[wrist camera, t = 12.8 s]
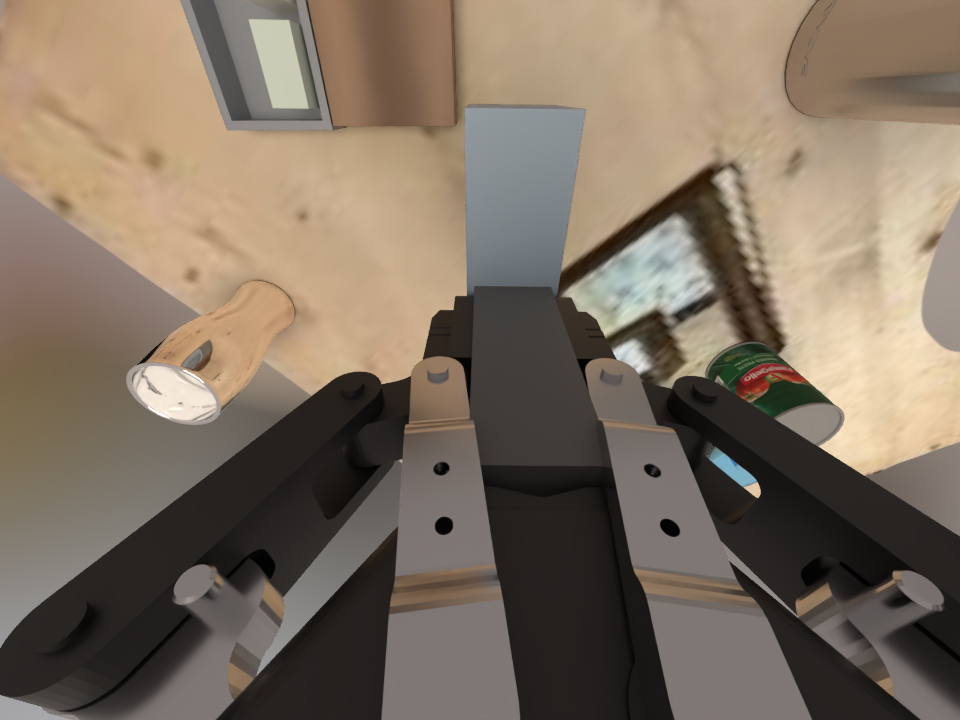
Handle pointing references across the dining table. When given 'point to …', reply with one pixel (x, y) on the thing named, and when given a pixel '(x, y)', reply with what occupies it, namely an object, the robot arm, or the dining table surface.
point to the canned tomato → (776, 390)
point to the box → (251, 65)
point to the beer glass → (211, 356)
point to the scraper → (525, 301)
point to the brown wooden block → (387, 61)
